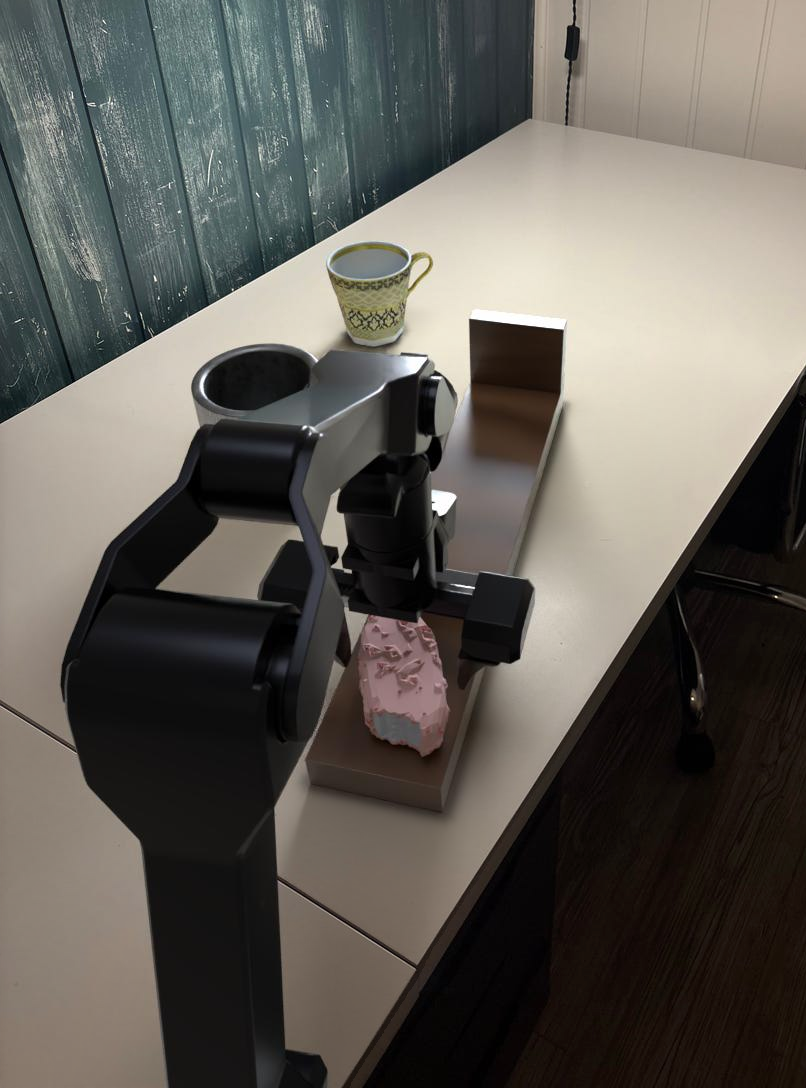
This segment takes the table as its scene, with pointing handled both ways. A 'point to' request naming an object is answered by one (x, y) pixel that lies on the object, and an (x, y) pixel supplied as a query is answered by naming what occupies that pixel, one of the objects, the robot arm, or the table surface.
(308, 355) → the planter
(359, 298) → the ceramic cup
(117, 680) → the robot arm
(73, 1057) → the table surface
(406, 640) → the ice cream bar
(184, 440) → the table surface
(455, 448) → the shelf
